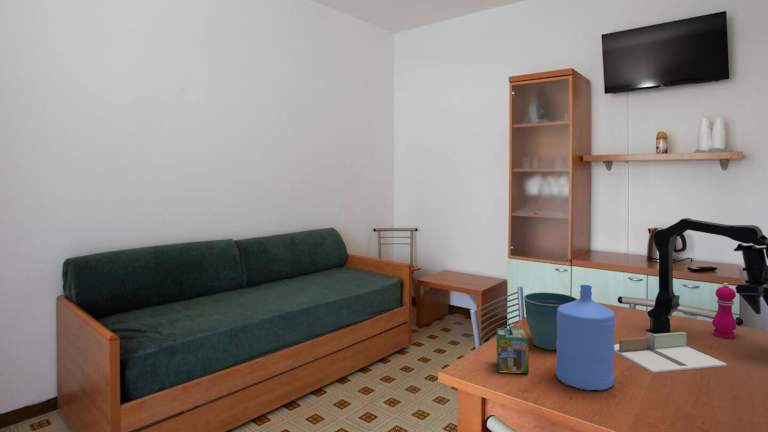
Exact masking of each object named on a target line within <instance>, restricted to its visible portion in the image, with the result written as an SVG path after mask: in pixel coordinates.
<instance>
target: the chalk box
mask: <svg viewBox="0 0 768 432" xmlns="http://www.w3.org/2000/svg"><path fill="white" fill-rule="evenodd" d="M506 320H507V319H506ZM507 323H508V327H506V328H505V327H502V328H501V327H497V328H496V332H495V333H496V359H495V361H497V363H496V367H498V369H497V371H498V370H499V371H507V372H521V373H529V372H530V370H529V369H530V368H529V367H530V365H529V364H530V363H529V360H530V359H529V337H528V334H527V332H526V329H524V328H511V324H510V321H509V320H507Z"/></svg>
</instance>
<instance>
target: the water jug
mask: <svg viewBox="0 0 768 432" xmlns="http://www.w3.org/2000/svg"><path fill="white" fill-rule="evenodd" d="M579 287H580V290H579V298H578V299H577V300H576V301H573V302H569V303H566V304H563V305H561V306H559V307H558V309H557V341H556V349H557V350H556V367H555V374H556V378H557V379H558V381H560V380H561V381H560V382H561V383H563V384H565V385H567V386H569V385H570V386H569V387H571V386H573V387H572V388H574V387H576V388H575V389H578V388H579V390H583V389H584V390H585V391H591V390H598V391H604V390H605V391H606V390H608V389H609V388H611V387H613V386H614V383H615V375H614V363H615V362H614V361H615V353H616V352H615V347H614V345H615V333H616V331H615V329H616V314H615V312H614V311H613V310H612V309H610V308H608V307H606V306H604V305H602V304H601V303H598V302H596V301H594V300H593V298H592V294H593V292H592V288H593V286H592V285H588V284H580V285H579ZM584 390H583V391H584Z"/></svg>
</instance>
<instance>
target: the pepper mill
mask: <svg viewBox="0 0 768 432" xmlns="http://www.w3.org/2000/svg"><path fill="white" fill-rule="evenodd" d="M715 296H716V298H717V299H716V304H717V306H718V307H717V310H716V313H715V315H714V316H713V318H712V321H711V324H712V326H713V328H714V329H713V333H712V334H713V335H714V337H717V338H720V339H726V340H727V339H729V340H730V339H734V338H735V332H734V331H735V330H736V329H737V327H738V326H737V321H736V319H735V316H734V315H733V310H732V309H733V306H734V305H735V304H734V303H735V302H734V300H735V298H736V296H737V293H736V290H734V289H733V288H732V287H730V285H729V283H728V282H724V283H723V284H722V286H720V287H717V289H716V290H715Z"/></svg>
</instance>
